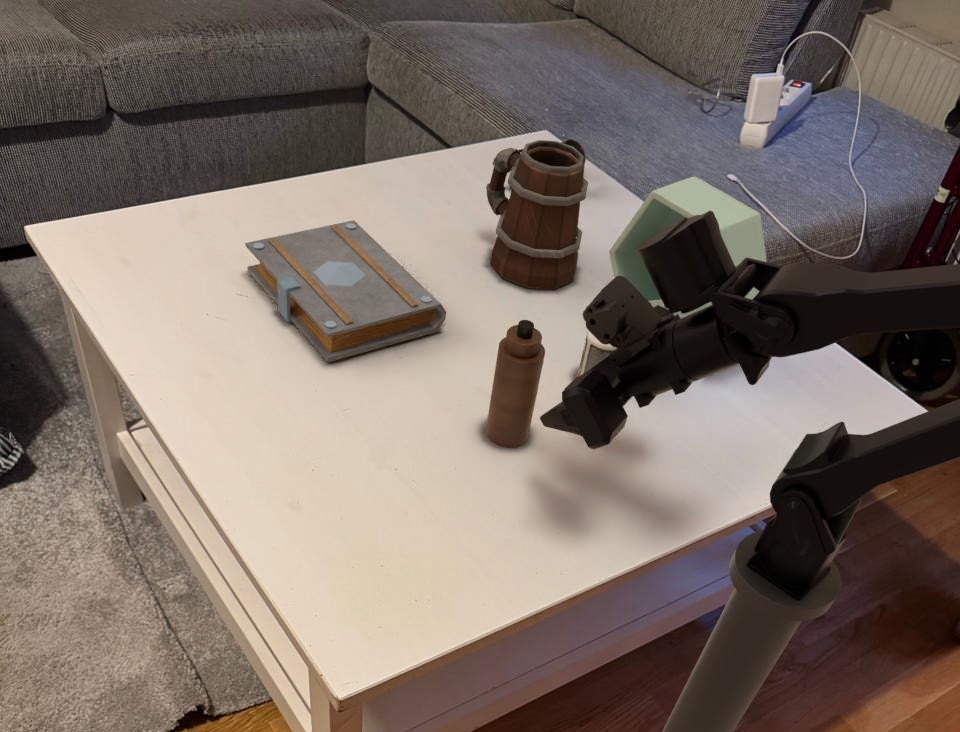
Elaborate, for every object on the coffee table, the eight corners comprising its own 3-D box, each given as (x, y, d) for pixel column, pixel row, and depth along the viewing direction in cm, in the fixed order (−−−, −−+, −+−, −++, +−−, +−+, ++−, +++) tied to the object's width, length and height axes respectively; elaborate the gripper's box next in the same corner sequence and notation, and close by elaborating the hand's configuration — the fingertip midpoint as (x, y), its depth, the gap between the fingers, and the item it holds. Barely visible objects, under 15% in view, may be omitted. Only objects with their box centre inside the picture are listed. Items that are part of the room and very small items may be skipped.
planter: (632, 371, 120) (598, 204, 111) (670, 352, 124) (640, 189, 115) (739, 366, 107) (711, 176, 98) (778, 345, 111) (754, 160, 102)
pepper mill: (535, 442, 102) (558, 333, 91) (497, 451, 100) (516, 341, 89) (516, 416, 104) (535, 307, 93) (478, 424, 102) (494, 314, 92)
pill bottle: (622, 388, 110) (640, 327, 103) (589, 395, 108) (605, 333, 102) (602, 365, 112) (618, 304, 106) (569, 372, 111) (583, 310, 104)
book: (444, 332, 113) (448, 295, 109) (325, 366, 106) (324, 328, 102) (359, 249, 122) (359, 212, 118) (244, 274, 115) (241, 236, 111)
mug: (592, 272, 126) (618, 161, 114) (533, 300, 120) (553, 185, 108) (512, 223, 132) (528, 112, 120) (451, 246, 126) (462, 132, 114)
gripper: (692, 229, 86) (568, 292, 97) (603, 312, 75) (476, 372, 86) (741, 335, 90) (617, 384, 101) (663, 428, 79) (534, 471, 91)
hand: (563, 399), depth 95 cm, fingers open, 9 cm apart
